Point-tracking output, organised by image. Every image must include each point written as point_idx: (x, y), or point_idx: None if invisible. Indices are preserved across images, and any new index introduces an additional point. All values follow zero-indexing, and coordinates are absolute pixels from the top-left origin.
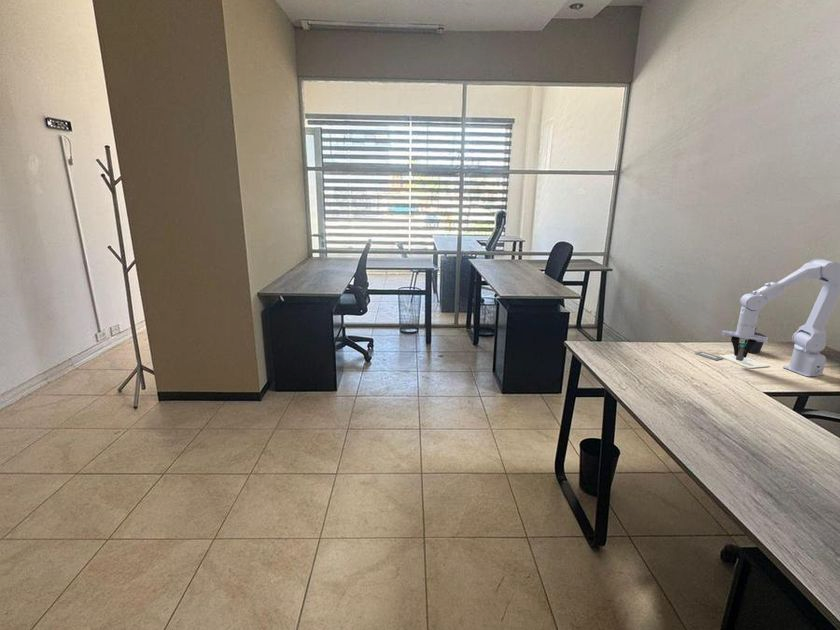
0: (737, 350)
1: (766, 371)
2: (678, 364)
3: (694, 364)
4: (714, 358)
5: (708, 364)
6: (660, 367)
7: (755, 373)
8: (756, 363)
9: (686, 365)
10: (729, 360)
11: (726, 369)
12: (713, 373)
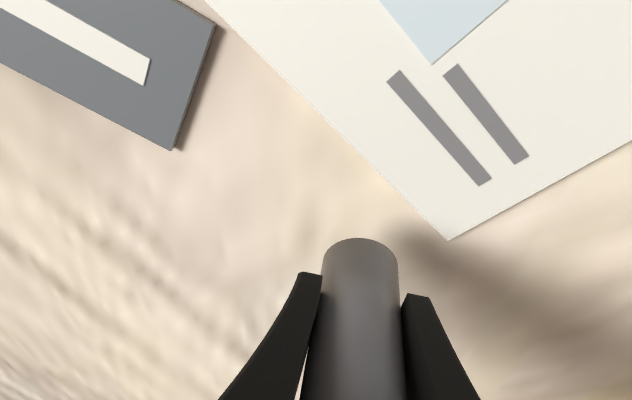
0: (305, 369)
1: (602, 234)
2: (33, 324)
3: (91, 296)
4: (142, 108)
5: (156, 263)
6: (11, 376)
7: (469, 306)
8: (614, 43)
9: (69, 324)
10: (287, 78)
11: (276, 305)
12: (220, 373)
